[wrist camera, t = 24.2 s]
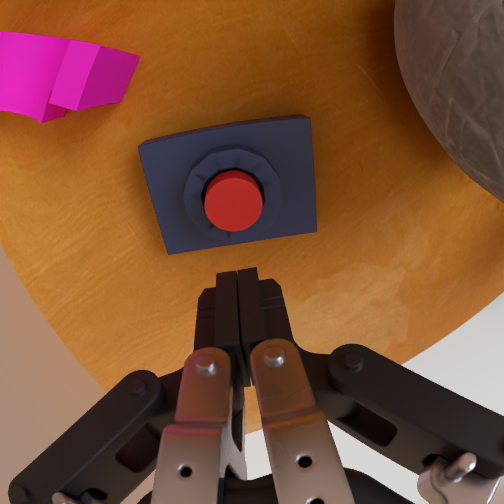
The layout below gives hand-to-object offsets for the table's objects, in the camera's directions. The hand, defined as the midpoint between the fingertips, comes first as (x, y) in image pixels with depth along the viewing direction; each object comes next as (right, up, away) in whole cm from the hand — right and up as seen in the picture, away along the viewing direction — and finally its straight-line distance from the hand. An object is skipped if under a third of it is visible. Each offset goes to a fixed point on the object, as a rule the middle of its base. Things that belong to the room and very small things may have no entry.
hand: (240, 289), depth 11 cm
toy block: (-16, +16, +5) cm, 23 cm away
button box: (-1, +7, +12) cm, 14 cm away
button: (-1, +5, +8) cm, 10 cm away
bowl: (+18, +19, +6) cm, 27 cm away
